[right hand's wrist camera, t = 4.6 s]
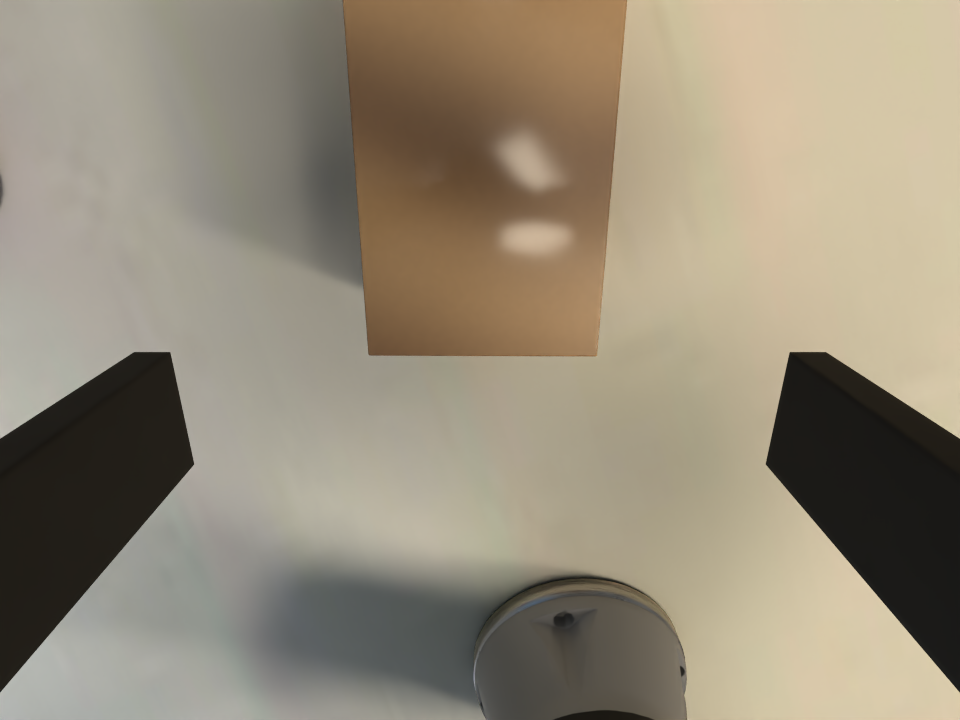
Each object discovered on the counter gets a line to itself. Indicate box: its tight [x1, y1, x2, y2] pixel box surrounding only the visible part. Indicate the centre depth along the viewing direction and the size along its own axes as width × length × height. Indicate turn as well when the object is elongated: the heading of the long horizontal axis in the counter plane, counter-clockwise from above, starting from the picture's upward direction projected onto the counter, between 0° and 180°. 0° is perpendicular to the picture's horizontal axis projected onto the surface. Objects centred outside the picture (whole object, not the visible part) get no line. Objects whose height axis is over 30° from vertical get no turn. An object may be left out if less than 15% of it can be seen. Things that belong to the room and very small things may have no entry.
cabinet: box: [343, 0, 627, 356], centre depth 26 cm, size 18×10×8 cm, turn 0°
